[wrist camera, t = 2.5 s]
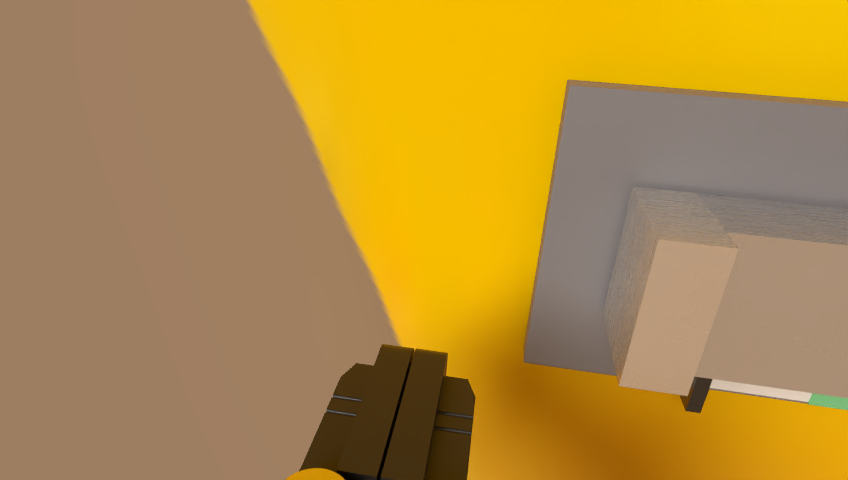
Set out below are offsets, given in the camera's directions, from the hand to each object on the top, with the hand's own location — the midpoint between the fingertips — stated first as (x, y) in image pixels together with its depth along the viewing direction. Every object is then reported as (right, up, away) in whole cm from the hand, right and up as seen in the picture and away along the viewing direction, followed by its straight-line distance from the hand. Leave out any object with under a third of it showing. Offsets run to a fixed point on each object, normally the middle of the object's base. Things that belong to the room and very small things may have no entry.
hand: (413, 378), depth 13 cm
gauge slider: (+12, +1, +6) cm, 13 cm away
